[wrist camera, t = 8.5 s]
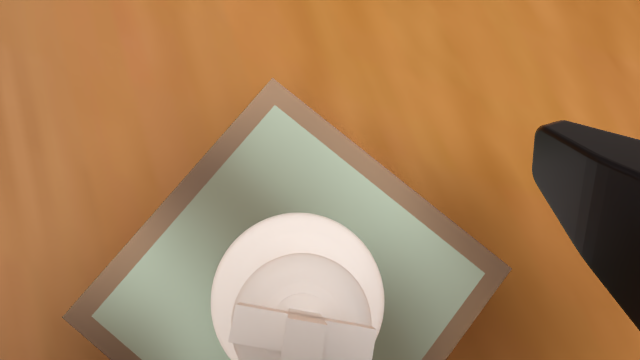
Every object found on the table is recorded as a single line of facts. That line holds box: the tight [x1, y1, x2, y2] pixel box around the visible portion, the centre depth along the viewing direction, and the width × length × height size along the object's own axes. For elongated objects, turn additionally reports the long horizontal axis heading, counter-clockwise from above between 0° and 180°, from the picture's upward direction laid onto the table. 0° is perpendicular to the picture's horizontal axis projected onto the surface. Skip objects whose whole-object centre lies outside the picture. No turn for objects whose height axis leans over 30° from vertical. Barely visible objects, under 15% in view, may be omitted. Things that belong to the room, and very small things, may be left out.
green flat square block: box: [62, 78, 512, 360], centre depth 17 cm, size 10×10×3 cm
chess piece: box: [211, 213, 384, 360], centre depth 11 cm, size 5×5×10 cm
